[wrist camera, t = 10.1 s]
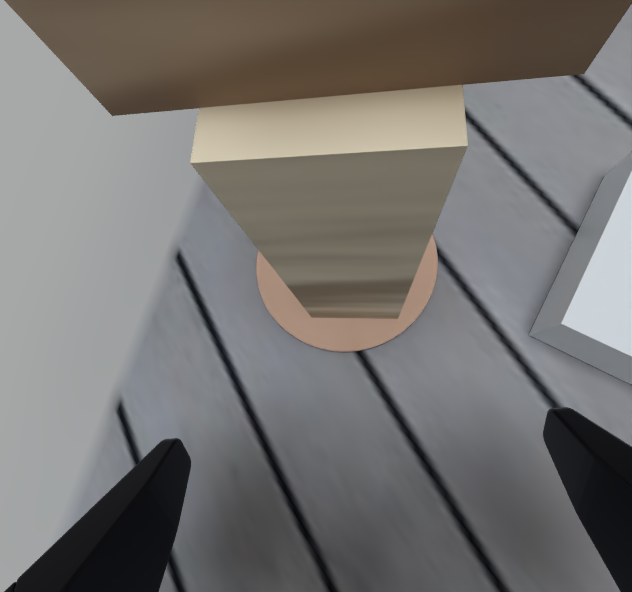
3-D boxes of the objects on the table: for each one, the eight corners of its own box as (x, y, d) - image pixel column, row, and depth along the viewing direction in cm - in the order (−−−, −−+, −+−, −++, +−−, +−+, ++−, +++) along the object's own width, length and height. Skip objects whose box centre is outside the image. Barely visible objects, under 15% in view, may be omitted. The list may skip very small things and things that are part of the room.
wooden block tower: (433, 319, 17) (744, -27, 3) (279, 317, 18) (-23, 68, 4) (429, 237, 18) (637, -291, 4) (285, 241, 20) (64, -157, 5)
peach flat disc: (380, 388, 17) (381, 388, 17) (227, 297, 20) (223, 294, 19) (467, 228, 19) (470, 223, 18) (314, 163, 21) (313, 157, 21)
